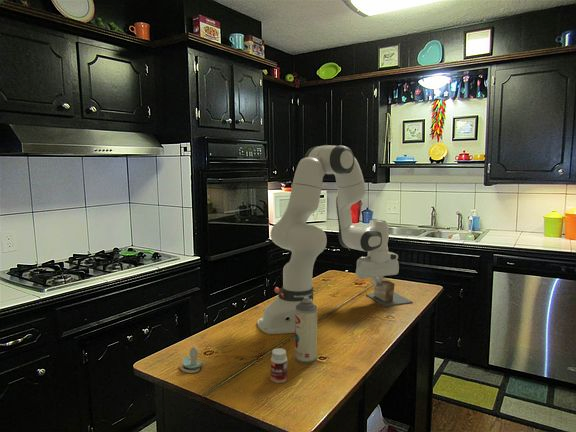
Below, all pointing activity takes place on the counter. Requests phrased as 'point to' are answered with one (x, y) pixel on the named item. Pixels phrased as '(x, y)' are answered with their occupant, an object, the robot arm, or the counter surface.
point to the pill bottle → (279, 365)
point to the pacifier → (193, 364)
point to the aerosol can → (306, 331)
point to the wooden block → (384, 290)
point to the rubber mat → (396, 301)
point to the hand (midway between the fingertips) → (377, 285)
